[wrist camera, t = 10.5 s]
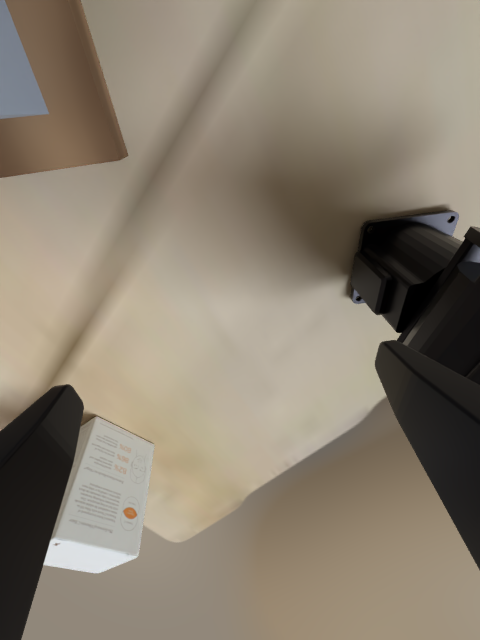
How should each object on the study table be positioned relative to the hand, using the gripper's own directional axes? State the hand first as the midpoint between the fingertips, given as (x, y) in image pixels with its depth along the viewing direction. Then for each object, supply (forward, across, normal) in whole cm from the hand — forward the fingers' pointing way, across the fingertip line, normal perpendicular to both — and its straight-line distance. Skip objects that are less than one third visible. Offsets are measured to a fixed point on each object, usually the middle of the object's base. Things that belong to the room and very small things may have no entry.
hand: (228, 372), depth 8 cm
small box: (+13, +15, +22) cm, 30 cm away
